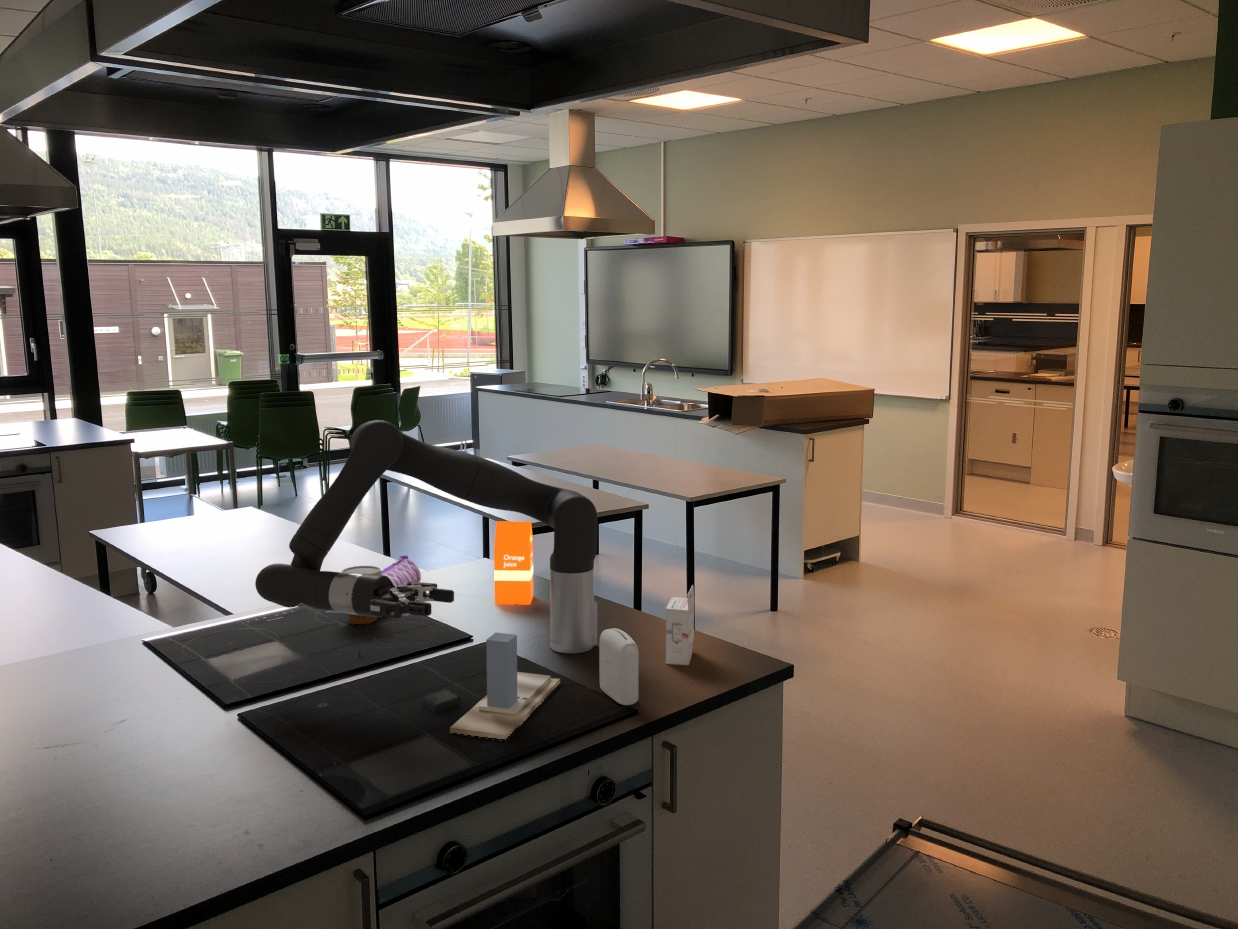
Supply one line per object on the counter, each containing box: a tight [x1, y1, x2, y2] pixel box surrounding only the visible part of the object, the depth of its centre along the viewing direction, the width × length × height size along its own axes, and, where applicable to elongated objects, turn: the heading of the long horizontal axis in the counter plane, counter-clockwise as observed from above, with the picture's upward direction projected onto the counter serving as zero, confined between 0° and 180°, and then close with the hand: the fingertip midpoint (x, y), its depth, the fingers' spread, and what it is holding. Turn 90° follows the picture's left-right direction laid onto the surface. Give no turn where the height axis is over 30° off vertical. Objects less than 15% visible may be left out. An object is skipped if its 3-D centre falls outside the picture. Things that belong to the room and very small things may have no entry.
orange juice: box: [493, 520, 534, 606], centre depth 231 cm, size 8×9×20 cm
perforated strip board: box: [449, 671, 561, 741], centre depth 167 cm, size 26×10×2 cm, turn 163°
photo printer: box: [598, 628, 639, 706], centre depth 171 cm, size 10×4×12 cm, turn 26°
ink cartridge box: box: [665, 584, 695, 666], centre depth 191 cm, size 9×5×15 cm, turn 168°
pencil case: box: [381, 554, 422, 587], centre depth 231 cm, size 22×9×10 cm, turn 170°
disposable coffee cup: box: [341, 565, 383, 625], centre depth 214 cm, size 10×10×12 cm
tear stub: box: [478, 632, 526, 715], centre depth 163 cm, size 5×7×13 cm
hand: (442, 603), depth 165 cm, fingers open, 8 cm apart
